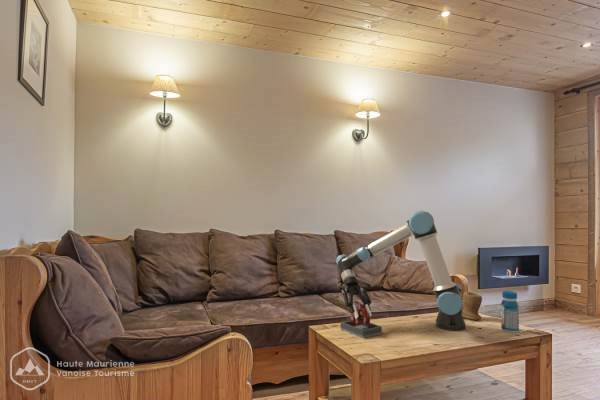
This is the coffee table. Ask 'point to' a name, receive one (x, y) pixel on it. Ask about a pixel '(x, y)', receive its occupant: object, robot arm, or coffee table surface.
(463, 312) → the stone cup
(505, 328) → the beverage bottle
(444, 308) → the robot arm
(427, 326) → the coffee table surface
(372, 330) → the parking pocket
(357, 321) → the toy fire truck
